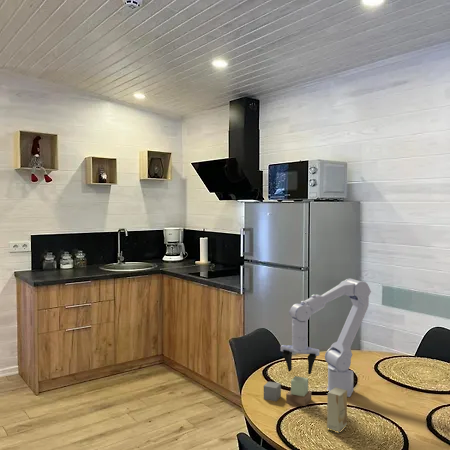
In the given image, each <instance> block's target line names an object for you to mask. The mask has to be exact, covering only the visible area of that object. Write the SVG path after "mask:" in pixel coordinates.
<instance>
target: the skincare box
mask: <svg viewBox="0 0 450 450" xmlns="http://www.w3.org/2000/svg"><path fill="white" fill-rule="evenodd" d="M326 405H327V411H326V412H327V415H326V416H327V417H326V419H327V420H326V421H327V422H326V423H327V427H326V429H327V428H329V429H332V430H335V431H338V432H340V431H341V430H342V429H343V428H344V427H345V426H346V425H347V426H348V397H347V390H344V389H340V388H337V387H335V388H333V389H332V390H331V391H329V392H328V393H327V404H326Z"/></svg>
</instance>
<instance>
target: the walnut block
mask: <svg viewBox="0 0 450 450" xmlns="http://www.w3.org/2000/svg"><path fill="white" fill-rule="evenodd" d="M285 396H286V397H285V402H286V404H291V405H294V406H298V407H302V406H305V407H306V406H307V405H308V404H309V403H310V402H311V401H312V390H308V393H307V394H306V395H305V396H304V397H303V396H298V395H293V394H291V390H289V392H287V393H286V395H285Z"/></svg>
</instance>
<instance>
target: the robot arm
mask: <svg viewBox="0 0 450 450" xmlns="http://www.w3.org/2000/svg"><path fill="white" fill-rule="evenodd" d="M371 292H372V291H371V289H370V285H369V284H368V283H367V282H366V281H361V280H357V279H354V278H352V277H349V278H346V279H345V280H342V281H340V283H339V284H337V285H335V286H334V287H332V288H331V289H329V290H328V291H325V292H324V293H323V294H312V295H311V296H310V297H308V298H307V299H305V300H301V301H300V303H294V304H293V305H291V307H290V309H289V310H288V313H289V315H290V317H291V345H289V344H287V345H286V344H282V345H280V352H282V357H283V359H284V361H285V363H286V367H287V370H288V372H291V371H292V369H293V366H292V358H293V353H296V354H297V353H298V354H304V355H308V356H307V364H308V365H307V366H308V367H307V369H308V370H307V373H308V375H311V374H312V370H313V366H314V364H315V360H316V358H317V357H319V356H320V349H318V348H314V347H310V346H308V320H309V319H310V318H311V316H312V315H314V314H315V313H318V312H319V311H320V310H322V309H325V307H326V304H327V303H330V302H332V301H333V300H335V299H339V298H340V297H342V296H347V297H349V299H350V301H351V304H352V306H351V309H350V311H349V313H348V315H347V317H346V320H345V322H344V324H343V327H342V329H341V331H340V333H339V335H338V338H337V341H335V342H333V343H332V344H331V345H330V347H329V348H328V349H327V350H326V352H325V354H324V360H325V362H326V363H327V388H326V389H327V390H329V391H331V390H332V389H333V388H335V387H337V388H340V389H344V390H347V398H351V396H352V394H353V392H354V389H355V388H354V370H350V369H349V368H350V367H351V364H352V357H353V353H352V349H351V347H352V345H353V342H354V341H355V338H356V335H357V333H358V331H359V329H360V327H361V325H362V322H363V319H364V317H365V315H366V314H367V313H366V312H367V310H368V308H369V304H370V303H369V299H370V298H369V297H370V295H371Z"/></svg>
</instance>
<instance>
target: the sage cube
mask: <svg viewBox="0 0 450 450" xmlns="http://www.w3.org/2000/svg"><path fill="white" fill-rule="evenodd" d="M290 391H291V394H293V395H298V396H303V397H304V396H305V395H306V394H307V393H308V391H309V377H304V376H303V377H301V376H297V375H295V376H294V377H293V378H292V379H291V381H290Z"/></svg>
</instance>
